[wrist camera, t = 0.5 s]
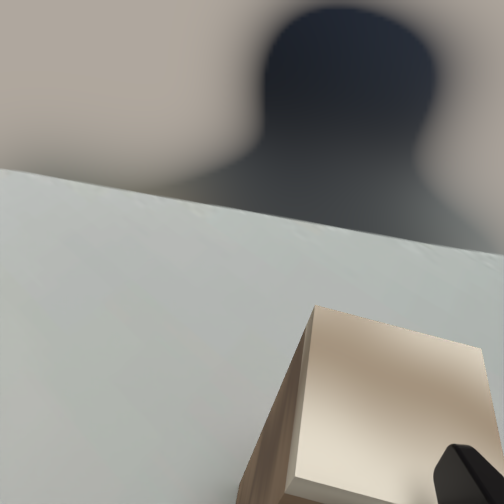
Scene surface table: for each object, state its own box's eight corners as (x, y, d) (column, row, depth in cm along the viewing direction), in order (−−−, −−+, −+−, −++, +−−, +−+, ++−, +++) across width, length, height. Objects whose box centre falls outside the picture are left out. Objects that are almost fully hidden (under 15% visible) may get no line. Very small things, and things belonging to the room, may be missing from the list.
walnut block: (331, 636, 20) (520, 537, 10) (215, 604, 20) (294, 476, 10) (337, 509, 23) (481, 348, 14) (239, 483, 24) (315, 304, 14)
